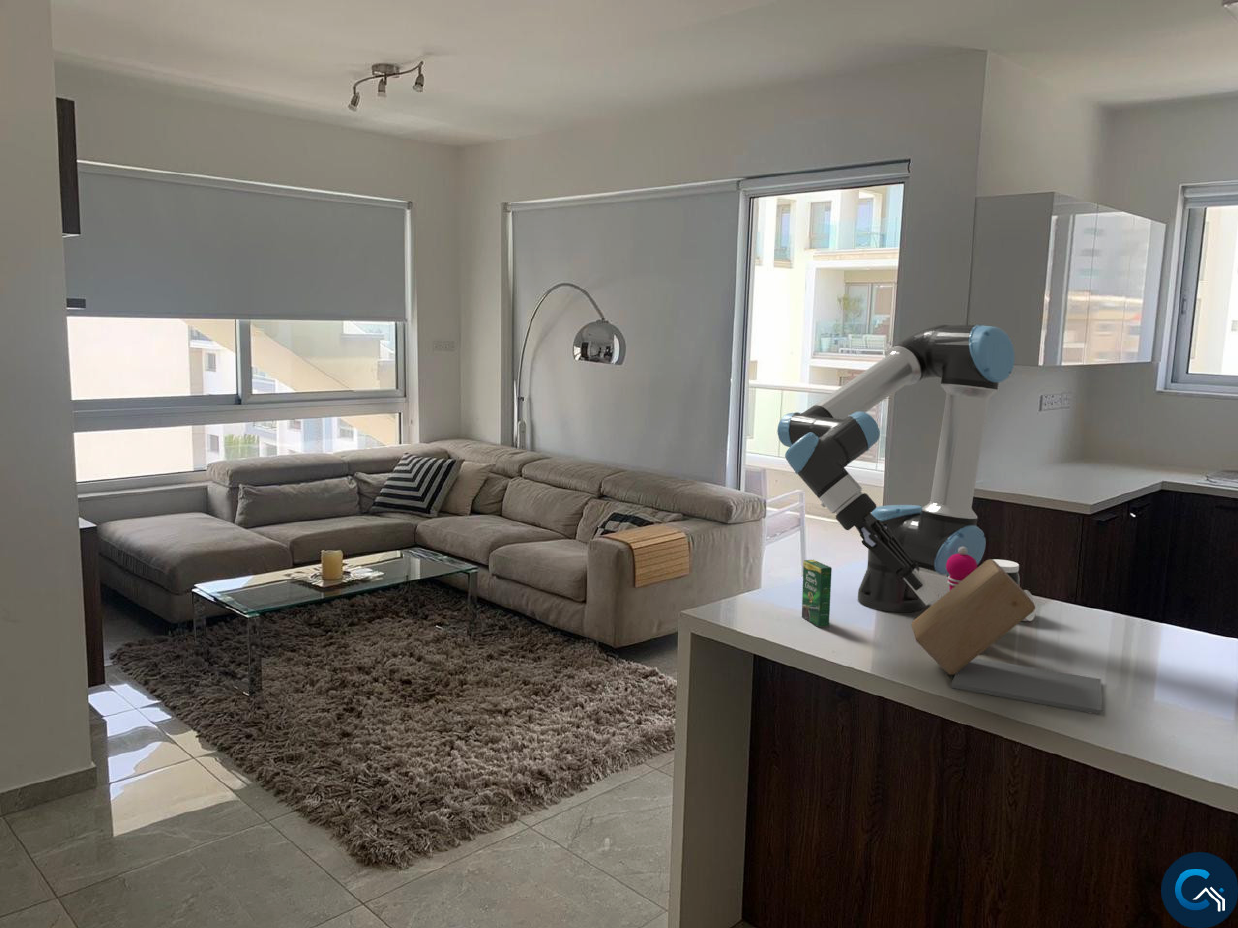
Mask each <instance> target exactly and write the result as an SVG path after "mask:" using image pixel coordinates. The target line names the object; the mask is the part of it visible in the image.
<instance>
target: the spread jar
mask: <svg viewBox="0 0 1238 928" xmlns="http://www.w3.org/2000/svg"><path fill="white" fill-rule="evenodd" d="M993 560H994V561H995V562H996V563H997V564H998V565H999V566H1000V567H1001V568H1002V569H1003V570H1004V571H1005V572H1006V573H1007V574H1008V575H1009V576H1010V577H1011V578H1012V579H1013V580H1014V581H1015V582H1016V583H1017V584H1018V585H1019V586H1020V581H1021V580H1020V574H1019V570H1020V564H1019V563H1018V562H1015V561H1012V560H1007V559H993ZM1023 591H1024V592H1025V593H1026V594H1027V595H1028V597H1029V598H1030V599H1031V601H1032V602H1033V603H1034V605H1035V606H1036V603H1035V600H1034V597H1033V595H1032V593H1031V592H1030V591H1029V590H1028V589H1023ZM1035 617H1036V608H1035V609H1034V611H1033V612H1032V613H1031V614H1030V615H1028V616H1027V617H1026V618H1025V619H1023V620H1022V621H1021V622H1032V621H1033V620H1034V619H1035Z"/></svg>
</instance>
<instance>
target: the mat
mask: <svg viewBox="0 0 1238 928" xmlns="http://www.w3.org/2000/svg"><path fill="white" fill-rule="evenodd" d="M950 688H952V689H957V690H961V691H962V690H963V691H968V692H972V693H979V694H982V695H983V694H984V695H990V696H995V697H1002V698H1007V699H1011V700H1018V701H1023V702H1029V703H1034V704H1035V703H1036V704H1039V705H1043V706H1044V705H1046V706H1051V707H1055V708H1057V707H1058V708H1061V709H1062V708H1063V709H1067V710H1074V711H1078V710H1079V711H1078V712H1083V711H1085V712H1084V713H1089V712H1091V713H1090V714H1094V713H1097V714H1096V715H1100V714H1101V715H1102V709H1103V708H1102V707H1103V706H1102V679H1101V678H1097V677H1090V676H1087V675H1086V676H1085V675H1079V674H1074V673H1073V674H1072V673H1067V672H1060V671H1055V670H1048V669H1043V668H1037V667H1031V666H1025V665H1018V664H1013V663H1006V662H1002V661H1001V662H1000V661H994V660H989V659H982V658H977V657H975V658H974V659H973V660H972V661H970V662H969V663H968V664H967V665H965V666H964V667H963V668H962V669H960V670H959V671H958V672H957V673H955V674H954V676H953V679H952V681H951V687H950Z"/></svg>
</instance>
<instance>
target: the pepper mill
mask: <svg viewBox="0 0 1238 928" xmlns="http://www.w3.org/2000/svg"><path fill="white" fill-rule="evenodd" d="M958 552H959V554H954V555H952V556H951V557H949V559H948V560H947V563H946V569H947V571H948V573H949V574H950V576H949V575H947V582H946V583H947V584H948V585H949V591H950V590H951V589H952V588H954V587H955V586H956V585H957V584H958V583H960V582H961V581H962V580H963V579H965V578H966V577H967V576H968V575H969V574H971V573H972V572H973V571H974V570H975V569H977V568H978V565H977V563H976V561H975V559H974V558H973V557H971V556H970V555H967V548H966V547H960V548H959V549H958Z"/></svg>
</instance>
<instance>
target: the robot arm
mask: <svg viewBox="0 0 1238 928" xmlns="http://www.w3.org/2000/svg"><path fill="white" fill-rule="evenodd" d="M1015 357H1016V356H1015V348H1014V345H1013V342H1012V340H1011V339H1010V337H1009V335H1008V334H1007V333H1006V331H1005V330H1004V329H1002V328H1000V327H997V326H991V325H990V326H989V325H985V324H977V325H975V324H969V325H967V324H963V325H960V324H959V325H958V324H957V325H952V324H951V325H950V324H949V325H948V324H937V325H933V326H930V327H929V326H928V327H927V328H923V329H922V330H920V331H918V332H915V333H913V334H912V335H909V336H908V337H906V338H904V339H903V340H901V341H899V342H897V343H896V344H894V345H893V346H892V347H889V349H888V350H886V354H885V357H884V358H882V359H880V360H879V361H877V362H876V363H874V364H873V365H871V366H870V367H869V368H868V369H866V370H864V371H862V372H861V373H859V374H858V375H857V376H855V377H854V378H852V379H851V380H849V381H848V382H847V383H845V384H844V385H842V386H841V387H839V388H838V389H836V390H835V391H834V392H833V391H832V393H830V394H829V395H828V396H825V397H824V398H823V399H821V400H820V401H819V402H817V403H816V404H814V405H813V406H811V407H810V408H808V409H807V410H805V411H803V412H796V411H795V412H788V413H786V414H785V415H783V416H782V417H781V418H780V420H779V422H778V425H777V431H776V432H777V436H778V439H779V442H780V443H781V444H782V445H783V446H785V447H788V449H787V450H786V452H785V455H784V457H785V460H786V462H787V463H788V464H789V466H790V467H791V468H792V470H793V471H794V472H795V474H796V475H797V476H799V478H800V479H801V480H802V481H803V482H804V483H805V485H806V486H808V488H809V489H810V490H811V491H812V492H813V493H814V495H815V496H816V497H817V499H819V500H820V501H821V507H823V508H827V510H828V511H829V512H830V513H831V514H836V515H835V519H836V521H837V522H838V523H839V524H840V525H841V526H842V528H843V529H844V530H845V531H850V530H851V529H853V528H854V527H855V528H856V530H857V531H858V534H859V536H860V538H861V539H862V540H861V544H862V545H863V546H864V547H865V548H866V549H867V551H868V552H867V565H866V566H867V567H866V570H865V573H864V575H863V578H862V581H861V583H860V585H859V588H858V591H857V601H858V603H860V604H861V605H863V606H865V607H868V608H870V609H871V608H872V609H876V610H880V611H885V612H895V613H896V612H897V613H907V612H909V613H910V612H917V611H921V610H923V609H924V608H925V607H926V606H929V605H930V604H932V602H934V601H936V599H937V600H938V598H939V597H940V594H938V592H937V591H936V590H935V588H933V586H931V584H930V583H929V582H928V580H926V578H924V576H923V575H922V574H921V573H920V568H922V569H924V570H928V571H931V572H935V573H937V574H939V575H941V576H950V574H949V573H948V571H947V569H946V563H947V560H948V559H949V557H951V556H952V555H954V554H959V552H958V549H959V548H960V547H966V548H967V555H970V556H971V557H973V558H974V559H975V561H976V563H977V566H978V565H979V564H980V563H981V560H982V559H983V556H984V554H985V550H986V544H987V543H986V537H985V533H984V531H983V530H982V529H980V528H979V526H977V523H978V515H977V514H976V513H975V511H974V510H973V508H972V506H973V501H974V500H973V499H974V495H975V494H974V493H975V487H976V480H977V474H978V467H979V462H980V455H981V450H982V449H981V448H982V442H983V437H984V430H985V423H986V416H987V409H988V404H989V399H990V397H992V396H993V395H994V394H996V393H997V392H998V389H999V383H1001V382H1004V381H1005V380H1007V379H1008V378H1009V377H1010V374H1011V373H1012V372H1013V370H1014V366H1015V359H1016V358H1015ZM928 378H929V379H930V378H941V381H940V386H941V388H942V389H943V390H944V392H945V393H946V396H945V402H944V403H945V404H944V409H943V416H942V422H941V429H940V435H939V443H938V448H937V455H936V462H935V468H934V474H933V483H932V487H931V494H930V500H929V502H928V503H927V504H926V505H925V506H921V505H917V504H916V505H915V504H889V505H881V506H880V505H879V506H877V504H876V503H875V502H874V500H873V499H872V498H871V497H870V496H869V494H868V493H865V492H862V491H863V487H862V486H861V485H860V484H859V483H858V482H857V480H855V478H854V477H853V476H852V475H851V474H850V473H849V472H848V471H847V469H846V467H847V466H848V465H849V464H851V463H852V462H853V461H855V460H856V459H858V458H859V457H861V456H862V455H863V454H865V453H867V452H868V451H869V450H870V448H872V447H873V446H874V445H875V444H876V443H877V442H878V441H879V439H880V436H881V435H880V434H881V431H880V427H879V425H878V423H877V421H876V420H875V419H874V417H872V415H870V414H869V413H867V412H868V411H871V409H872V408H874V407H875V406H877V405H879V404H880V403H881V402H883V401H885V399H887V398H888V397H890V396H892V395H893V394H895V393H896V392H898V391H899V390H900V389H901V388H903V387H904V386H913V385H915V384H916V383H918V382H919V381H921V380H925V379H928Z"/></svg>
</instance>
